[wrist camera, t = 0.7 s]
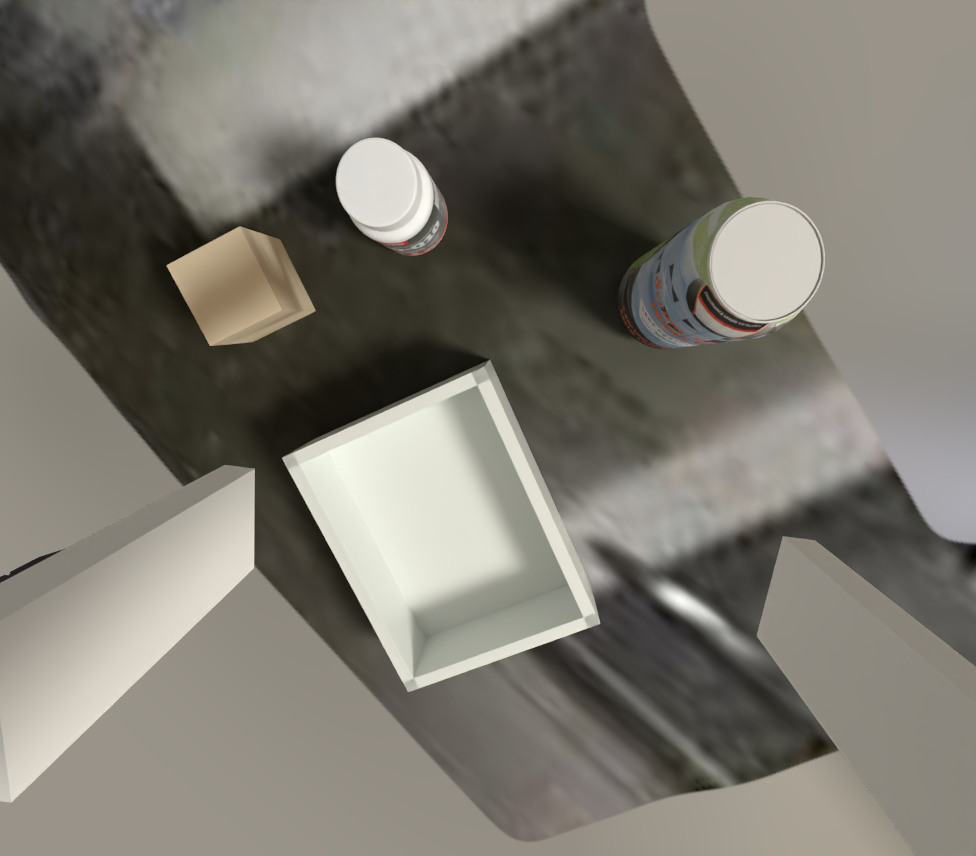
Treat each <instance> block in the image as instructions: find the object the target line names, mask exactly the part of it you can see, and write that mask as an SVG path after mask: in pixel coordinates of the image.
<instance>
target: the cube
mask: <svg viewBox="0 0 976 856" xmlns="http://www.w3.org/2000/svg"><path fill="white" fill-rule="evenodd" d="M166 266H167V268H168V269H169V271H170V273H171V275H172V277H173V279H174V280H175V282H176V284H177V286H178V288H179V290H180V291H181V293H182V295H183V297H184V299H185V301H186V303H187V304H188V306H189V308H190V310H191V312H192V314H193V315H194V317H195V319H196V321H197V323H198V325H199V326H200V328H201V330H202V332H203V334H204V336H205V338H206V339H207V341H208V343H209V345H210V346H215V345H226V344H237V343H248V342H254V341H256V340H258V339H260V338H262V337H264V336H266V335H268V334H270V333H272V332H274V331H276V330H278V329H280V328H282V327H284V326H286V325H288V324H290V323H292V322H294V321H297V320H299V319H301V318H303V317H305V316H307V315H309V314H311V313H313V312H315V311H316V310H315V308H314V306H313V304H312V302H311V300H310V298H309V296H308V294H307V292H306V290H305V288H304V286H303V284H302V282H301V280H300V278H299V276H298V274H297V272H296V270H295V268H294V266H293V264H292V262H291V260H290V258H289V256H288V254H287V252H286V250H285V248H284V246H283V244H282V242H281V240H280V239H277V238H274V237H271V236H268V235H265V234H262V233H259V232H256V231H252V230H249V229H246V228H243V227H240V226H239V227H238V228H236V229H234V230H232V231H230V232H228V233H226V234H224V235H223V236H221V237H219V238H217V239H215V240H213V241H211V242H209V243H208V244H206V245H204V246H202V247H200V248H198V249H196V250H194V251H192V252H191V253H189V254H187V255H185V256H183V257H181V258H179V259H177V260H176V261H174V262H172V263H170V264H168V265H166Z"/></svg>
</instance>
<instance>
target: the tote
mask: <svg viewBox="0 0 976 856" xmlns="http://www.w3.org/2000/svg"><path fill="white" fill-rule="evenodd" d="M282 459H283V461H284V463H285V465H286V467H287V469H288V471H289V472H290V474H291V476H292V478H293V480H294V482H295V484H296V485H297V487H298V489H299V491H300V493H301V495H302V496H303V498H304V500H305V502H306V504H307V506H308V508H309V509H310V511H311V513H312V515H313V517H314V519H315V521H316V522H317V524H318V526H319V528H320V530H321V532H322V534H323V535H324V537H325V539H326V541H327V543H328V545H329V546H330V548H331V550H332V552H333V554H334V556H335V558H336V559H337V561H338V563H339V565H340V567H341V569H342V571H343V572H344V574H345V576H346V578H347V580H348V582H349V584H350V585H351V587H352V589H353V591H354V593H355V595H356V596H357V598H358V600H359V602H360V604H361V606H362V608H363V609H364V611H365V613H366V615H367V617H368V619H369V621H370V622H371V624H372V626H373V628H374V630H375V632H376V634H377V635H378V637H379V639H380V641H381V643H382V645H383V646H384V648H385V650H386V652H387V654H388V656H389V658H390V659H391V661H392V663H393V665H394V667H395V669H396V671H397V672H398V674H399V676H400V678H401V680H402V682H403V683H404V685H405V687H406V689H407V691H408V692H410V691H413V690H416V689H418V688H421V687H424V686H427V685H430V684H433V683H435V682H438V681H441V680H444V679H447V678H449V677H452V676H455V675H458V674H461V673H463V672H466V671H469V670H472V669H475V668H477V667H480V666H483V665H486V664H489V663H491V662H494V661H497V660H500V659H503V658H505V657H508V656H511V655H514V654H517V653H519V652H522V651H525V650H528V649H531V648H533V647H536V646H539V645H542V644H545V643H548V642H550V641H553V640H556V639H559V638H562V637H564V636H567V635H570V634H573V633H576V632H578V631H581V630H584V629H587V628H590V627H592V626H595V625H598V624H600V621H599V617H598V613H597V609H596V605H595V601H594V597H593V593H592V589H591V585H590V582H589V580H588V577H587V575H586V573H585V571H584V569H583V566H582V564H581V562H580V560H579V557H578V555H577V553H576V551H575V548H574V546H573V544H572V542H571V540H570V537H569V535H568V533H567V531H566V528H565V526H564V524H563V522H562V519H561V517H560V515H559V513H558V511H557V508H556V506H555V504H554V502H553V499H552V497H551V495H550V493H549V491H548V488H547V486H546V484H545V482H544V479H543V477H542V475H541V473H540V470H539V468H538V466H537V464H536V462H535V459H534V457H533V455H532V453H531V450H530V448H529V446H528V444H527V441H526V439H525V437H524V435H523V433H522V430H521V428H520V426H519V424H518V421H517V419H516V417H515V415H514V413H513V410H512V408H511V406H510V404H509V401H508V399H507V397H506V395H505V392H504V390H503V388H502V386H501V384H500V381H499V379H498V377H497V375H496V372H495V370H494V368H493V366H492V363H491V361H490V360H488V361H486V362H483V363H481V364H479V365H477V366H475V367H472V368H470V369H468V370H466V371H463V372H461V373H459V374H457V375H455V376H452V377H450V378H448V379H446V380H444V381H441V382H439V383H437V384H435V385H432V386H430V387H428V388H426V389H424V390H421V391H419V392H417V393H415V394H413V395H410V396H408V397H406V398H404V399H401V400H399V401H397V402H395V403H393V404H390V405H388V406H386V407H384V408H382V409H379V410H377V411H375V412H373V413H370V414H368V415H366V416H364V417H362V418H359V419H357V420H355V421H353V422H351V423H348V424H346V425H344V426H342V427H340V428H337V429H335V430H333V431H331V432H328V433H326V434H324V435H322V436H320V437H317V438H315V439H313V440H312V441H310V442H308V443H306V444H305V445H303V446H301V447H300V448H298V449H296V450H294V451H293V452H291V453H289V454H288V455H286V456H284V457H282Z"/></svg>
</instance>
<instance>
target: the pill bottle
mask: <svg viewBox="0 0 976 856" xmlns="http://www.w3.org/2000/svg"><path fill="white" fill-rule="evenodd" d="M336 188H337V193H338V197H339V199H340V202H341V204H342V205H343V207H344V209H345V210H346V211H347V213H348V214H349V215H350V218H351V219H352V221H353V222H354V224H355V225H356V226H357V227H358V229H359V230H360V231H361V232H363V233H364V234H365V235H366V236H368V237H369V238H371V239H373V240H375V241H377V242H379V243H380V244H382V245H384V246H386V247H388V248H389V249H391V250H393V251H395V252H397V253H400V254H403V255H409V256H414V255H420V254H424V253H426V252H428V251H430V250H431V249H433V248H434V247H435V246H436V245H437V244H438V243H439V242H440V240H441V239H442V237H443V235H444V233H445V230H446V227H447V221H448V213H447V207H446V203H445V200H444V198H443V196H442V194H441V192H440V191H439V189H438V188H437V186H436V184H435V183H434V181H433V180H432V178H431V176H430V175H429V173H428V172H427V170H426V168H425V167H424V166H423V164H422V163H421V162H420V161H419V160H418V159H417V158H416V157H415V156H414V155H412V154H411V153H409V152H408V151H406V150H404V149H402V148H401V147H400V146H399V145H397V144H396V143H394V142H392V141H390V140H387V139H383V138H367V139H364V140H361V141H359V142H357V143H355V144H354V145H352V146H351V147H350V148H349V149H348V150H347V151H346V152H345V154H344V155H343V157H342V158H341V160H340V162H339V165H338V168H337V173H336Z"/></svg>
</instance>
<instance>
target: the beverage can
mask: <svg viewBox="0 0 976 856" xmlns="http://www.w3.org/2000/svg"><path fill="white" fill-rule="evenodd" d="M824 264H825V253H824V246H823V242H822V238H821V236H820V234H819V231H818V229H817V228H816V226H815V225H814V223H813V222H812V220H811V219H810V218H809V217H808V216H807V215H806V214H804V212H802V211H800V210H799V209H798V208H796V207H794V206H792V205H790V204H787V203H784V202H779V201H773V200H768V199H764V198H750V197H749V198H742V199H736V200H733V201H730V202H727V203H724V204H722V205H720V206H718V207H717V208H715V209H713V210H711V211H710V212H708V213H707V214H705V215H704V216H702V217H701V218H699V219H698V220H696V221H695V222H693V223H692V224H690V225H688V226H687V227H685V228H684V229H682V230H681V231H679V232H678V233H676V234H675V235H673V236H672V237H670V238H669V239H667V240H666V241H664V242H663V243H661V244H660V245H658V246H657V247H655V248H653V249H652V250H650V251H649V252H647V253H646V254H644V255H643V256H641V257H640V258H639V259H637V260H636V261H635V262H634V263H633V264H632V265H631V266H630V267H629V268H628V270H627V271H626V273H625V275H624V276H623V278H622V281H621V283H620V286H619V291H618V310H619V314H620V317H621V320H622V322H623V324H624V326H625V328H626V329H627V330H628V332H629V333H630V334H631V335H632V336H633V337H634V338H635V339H636V340H638V341H640V342H641V343H643V344H645V345H647V346H650V347H654V348H658V349H670V348H679V347H687V346H695V345H704V344H712V343H721V342H729V341H737V340H746V339H753V338H759V337H762V336H765V335H768V334H771V333H773V332H775V331H777V330H779V329H780V328H782V327H784V326H785V325H786V324H787V323H789V322H790V321H791V320H792V319H794V318H795V316H796V315H797V314H798V313H799V312H800V311H801V310H802V308H803V307H804V306H805V305H806V304H807V303H808V302H809V301H810V300H811V299H812V297H813V295H814V294H815V292H816V291H817V289H818V287H819V284H820V282H821V280H822V275H823V272H824Z"/></svg>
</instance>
